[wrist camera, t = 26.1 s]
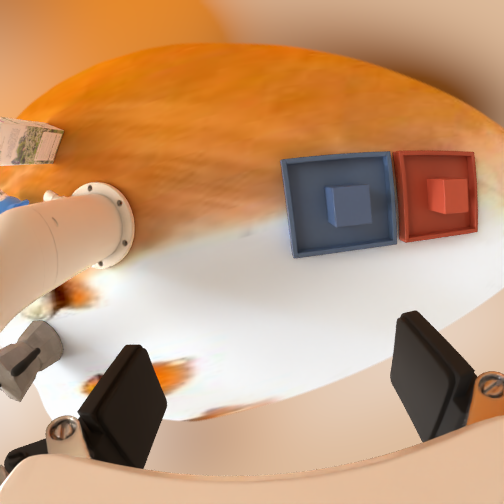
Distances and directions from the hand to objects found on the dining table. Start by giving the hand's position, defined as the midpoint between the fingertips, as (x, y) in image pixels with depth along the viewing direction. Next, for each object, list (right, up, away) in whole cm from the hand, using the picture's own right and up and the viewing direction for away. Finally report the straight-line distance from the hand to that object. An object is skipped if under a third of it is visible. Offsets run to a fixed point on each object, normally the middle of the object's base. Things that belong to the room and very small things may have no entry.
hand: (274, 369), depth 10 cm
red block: (+26, +13, +24) cm, 38 cm away
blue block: (+11, +10, +26) cm, 30 cm away
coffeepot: (-40, -13, +34) cm, 54 cm away
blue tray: (+11, +11, +26) cm, 30 cm away
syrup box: (-33, +22, +25) cm, 47 cm away
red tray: (+26, +13, +25) cm, 38 cm away
